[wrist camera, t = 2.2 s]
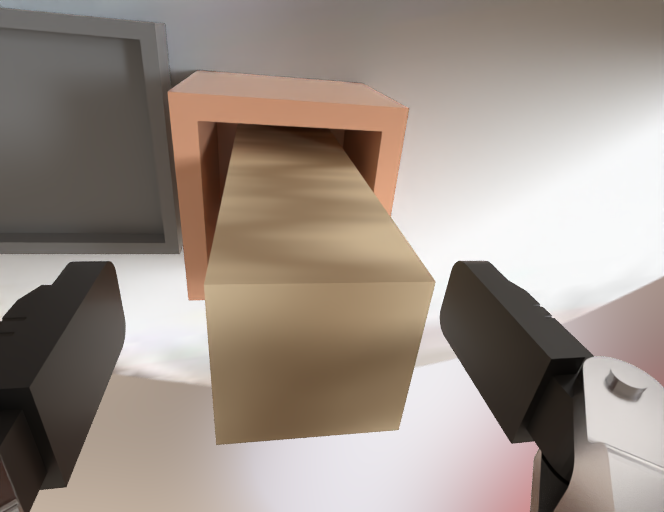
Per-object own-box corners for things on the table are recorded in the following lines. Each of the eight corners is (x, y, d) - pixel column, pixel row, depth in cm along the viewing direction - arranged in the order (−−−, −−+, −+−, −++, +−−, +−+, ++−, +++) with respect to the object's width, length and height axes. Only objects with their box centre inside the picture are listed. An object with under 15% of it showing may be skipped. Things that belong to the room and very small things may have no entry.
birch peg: (324, 122, 19) (435, 281, 7) (318, 201, 21) (398, 429, 9) (238, 117, 19) (204, 285, 7) (240, 199, 20) (216, 445, 8)
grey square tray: (164, 23, 17) (154, 23, 15) (185, 236, 22) (179, 253, 20) (-147, -7, 15) (-200, -11, 13) (-49, 234, 20) (-78, 253, 18)
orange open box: (362, 83, 19) (408, 108, 13) (345, 226, 23) (376, 296, 17) (197, 69, 18) (167, 91, 12) (207, 224, 22) (188, 300, 16)
